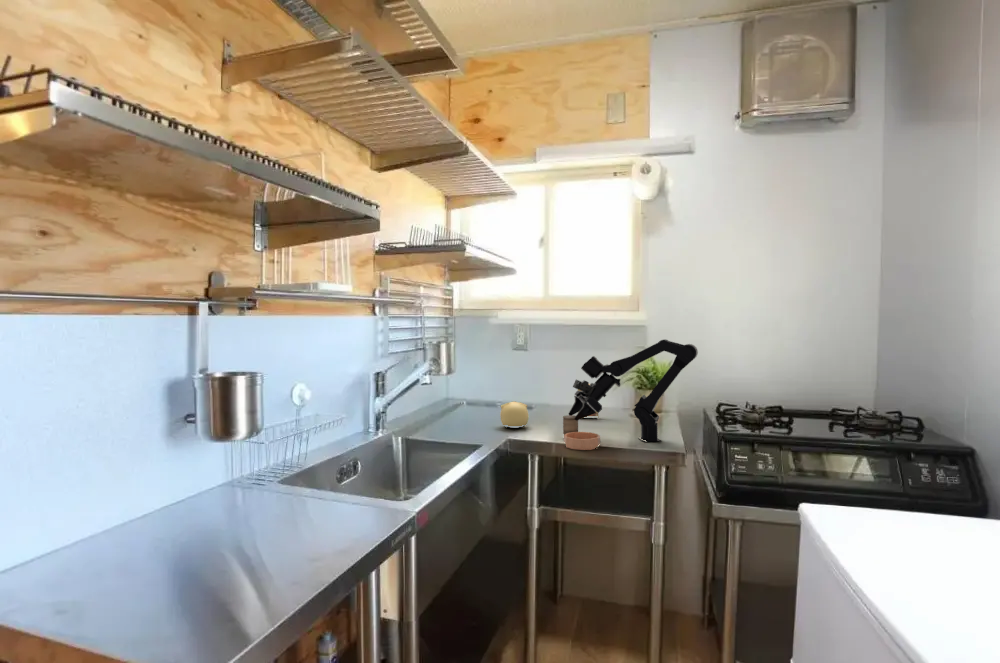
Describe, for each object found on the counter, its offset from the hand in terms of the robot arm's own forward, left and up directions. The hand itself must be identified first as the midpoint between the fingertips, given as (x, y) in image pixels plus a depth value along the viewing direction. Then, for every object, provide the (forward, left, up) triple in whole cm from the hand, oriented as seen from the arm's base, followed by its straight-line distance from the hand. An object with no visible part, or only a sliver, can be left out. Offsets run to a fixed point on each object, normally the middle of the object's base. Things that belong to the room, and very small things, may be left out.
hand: (572, 417), depth 192 cm
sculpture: (+22, +19, -8) cm, 30 cm away
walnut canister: (0, +1, -8) cm, 8 cm away
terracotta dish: (-12, 0, -8) cm, 14 cm away
